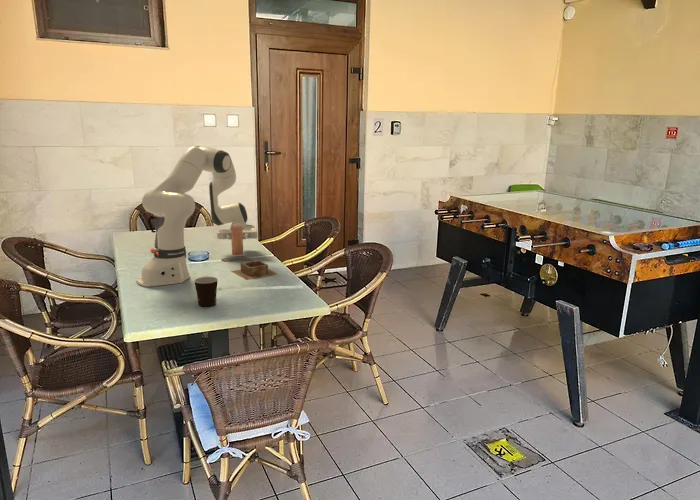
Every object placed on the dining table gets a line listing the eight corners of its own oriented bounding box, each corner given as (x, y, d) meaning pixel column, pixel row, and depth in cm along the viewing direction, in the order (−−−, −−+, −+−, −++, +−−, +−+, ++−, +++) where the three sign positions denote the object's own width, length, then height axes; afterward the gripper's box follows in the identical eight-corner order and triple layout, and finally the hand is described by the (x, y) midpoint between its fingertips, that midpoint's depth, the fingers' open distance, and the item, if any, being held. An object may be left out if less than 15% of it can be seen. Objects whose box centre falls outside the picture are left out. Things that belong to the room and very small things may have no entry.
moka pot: (179, 245, 295) (177, 210, 290) (156, 250, 282) (154, 213, 277) (168, 242, 300) (166, 208, 295) (145, 248, 287) (142, 211, 282)
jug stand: (246, 282, 232) (246, 271, 230) (230, 273, 244) (230, 262, 243) (278, 276, 241) (278, 265, 240) (261, 268, 253) (261, 257, 252)
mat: (231, 265, 257) (231, 264, 256) (221, 260, 266) (221, 258, 266) (253, 262, 264) (253, 260, 264) (243, 256, 273) (243, 255, 273)
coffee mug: (212, 309, 199) (211, 284, 196) (191, 307, 200) (190, 282, 198) (225, 299, 210) (224, 275, 207) (205, 297, 211) (204, 273, 209)
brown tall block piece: (232, 252, 266) (231, 225, 263) (243, 252, 267) (242, 225, 264) (231, 256, 259) (230, 228, 255) (242, 256, 260) (241, 228, 256)
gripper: (217, 226, 272) (215, 231, 259) (257, 225, 275) (257, 231, 262) (217, 237, 273) (215, 244, 260) (257, 237, 277) (257, 243, 263)
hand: (236, 237), depth 261 cm, fingers closed on brown tall block piece, 6 cm apart
